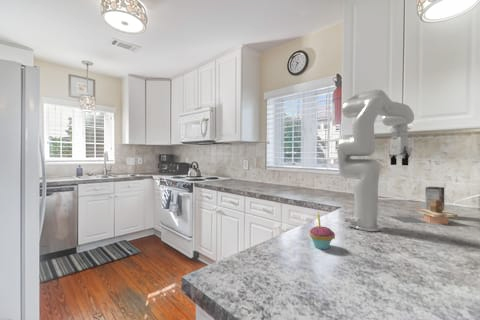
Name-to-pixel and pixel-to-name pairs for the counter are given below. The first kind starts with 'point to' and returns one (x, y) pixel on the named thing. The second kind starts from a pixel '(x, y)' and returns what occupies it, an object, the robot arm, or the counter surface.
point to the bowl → (436, 219)
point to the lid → (436, 210)
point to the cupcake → (321, 236)
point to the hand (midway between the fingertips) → (399, 165)
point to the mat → (408, 219)
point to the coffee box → (434, 195)
